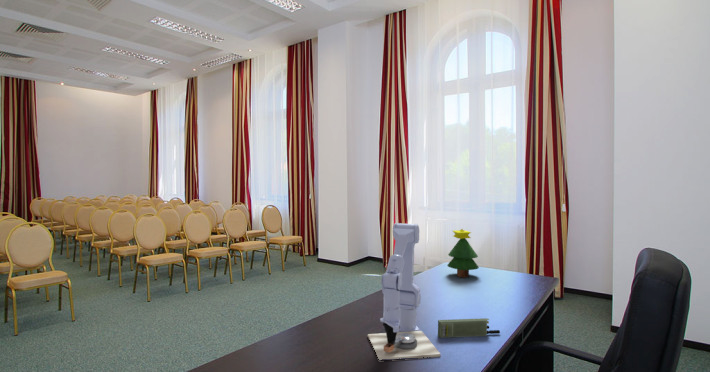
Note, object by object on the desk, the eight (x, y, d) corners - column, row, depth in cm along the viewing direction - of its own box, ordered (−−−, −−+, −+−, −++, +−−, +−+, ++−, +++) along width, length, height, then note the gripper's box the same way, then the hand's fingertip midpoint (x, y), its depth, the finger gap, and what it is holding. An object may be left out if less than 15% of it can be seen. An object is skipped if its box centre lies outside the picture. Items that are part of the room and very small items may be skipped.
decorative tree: (484, 279, 231) (484, 230, 230) (454, 280, 229) (454, 231, 228) (470, 271, 250) (470, 226, 249) (442, 272, 248) (443, 226, 247)
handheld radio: (437, 335, 150) (497, 332, 153) (439, 339, 147) (501, 336, 149) (437, 319, 150) (497, 316, 152) (440, 322, 147) (501, 320, 149)
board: (367, 336, 148) (367, 330, 148) (421, 333, 152) (421, 327, 152) (379, 361, 128) (379, 354, 128) (440, 356, 132) (440, 349, 132)
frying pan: (377, 348, 132) (378, 343, 132) (402, 334, 144) (402, 329, 144) (394, 354, 127) (394, 349, 127) (418, 339, 140) (418, 334, 140)
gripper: (376, 300, 141) (376, 336, 142) (385, 314, 127) (384, 354, 127) (394, 299, 142) (394, 334, 143) (405, 313, 128) (405, 352, 128)
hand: (391, 344), depth 135 cm, fingers closed, pressing on frying pan
